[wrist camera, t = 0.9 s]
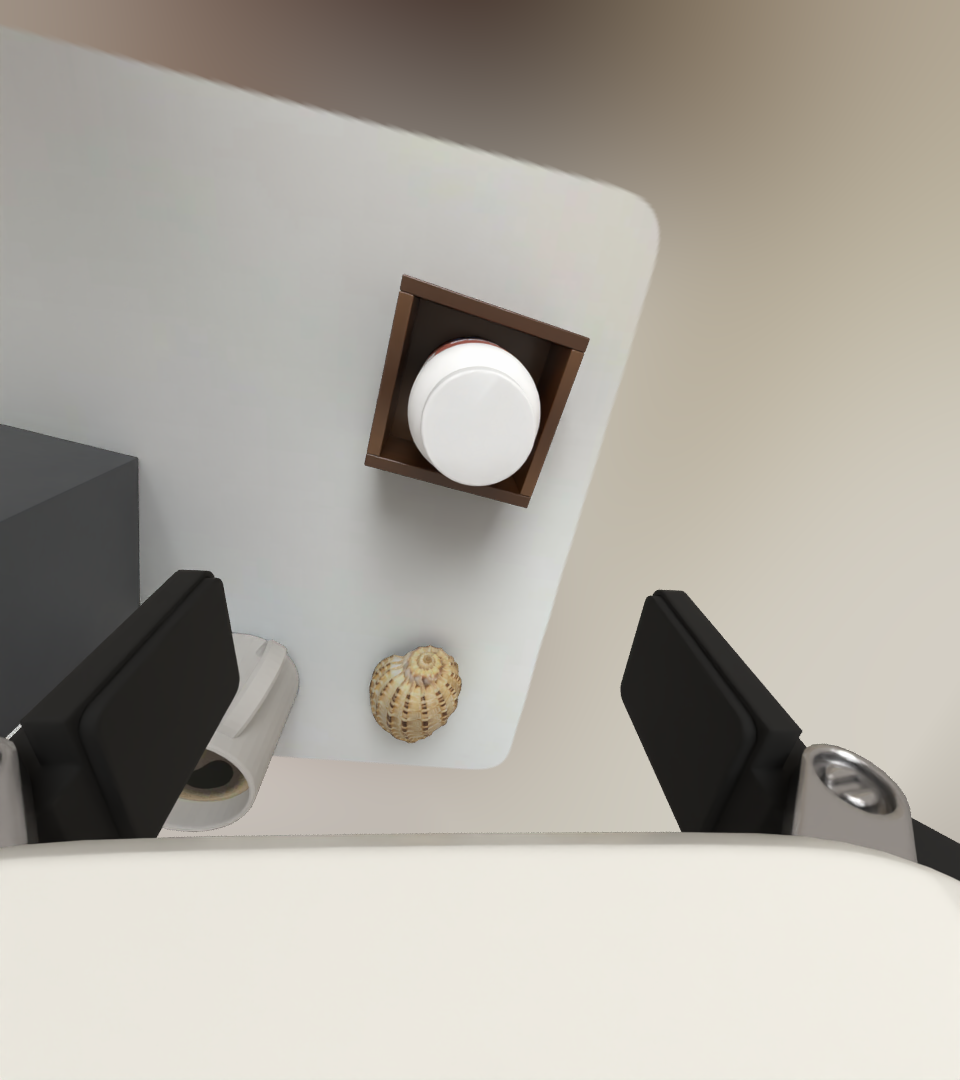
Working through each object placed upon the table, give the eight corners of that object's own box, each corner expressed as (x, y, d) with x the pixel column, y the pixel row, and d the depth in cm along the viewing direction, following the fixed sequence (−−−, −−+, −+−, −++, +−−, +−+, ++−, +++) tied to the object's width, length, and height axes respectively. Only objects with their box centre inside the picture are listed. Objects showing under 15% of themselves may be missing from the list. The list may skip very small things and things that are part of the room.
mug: (215, 723, 40) (147, 843, 31) (161, 637, 36) (64, 746, 27) (337, 700, 39) (305, 814, 30) (297, 610, 35) (246, 711, 26)
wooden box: (411, 281, 26) (402, 273, 21) (564, 333, 28) (590, 338, 23) (377, 439, 30) (364, 465, 25) (514, 477, 32) (527, 508, 27)
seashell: (464, 680, 43) (456, 630, 35) (468, 749, 39) (461, 710, 32) (381, 688, 43) (354, 640, 35) (377, 757, 39) (347, 721, 31)
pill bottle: (537, 368, 28) (587, 398, 18) (489, 456, 30) (508, 526, 20) (445, 314, 26) (444, 314, 16) (401, 411, 29) (376, 464, 19)
